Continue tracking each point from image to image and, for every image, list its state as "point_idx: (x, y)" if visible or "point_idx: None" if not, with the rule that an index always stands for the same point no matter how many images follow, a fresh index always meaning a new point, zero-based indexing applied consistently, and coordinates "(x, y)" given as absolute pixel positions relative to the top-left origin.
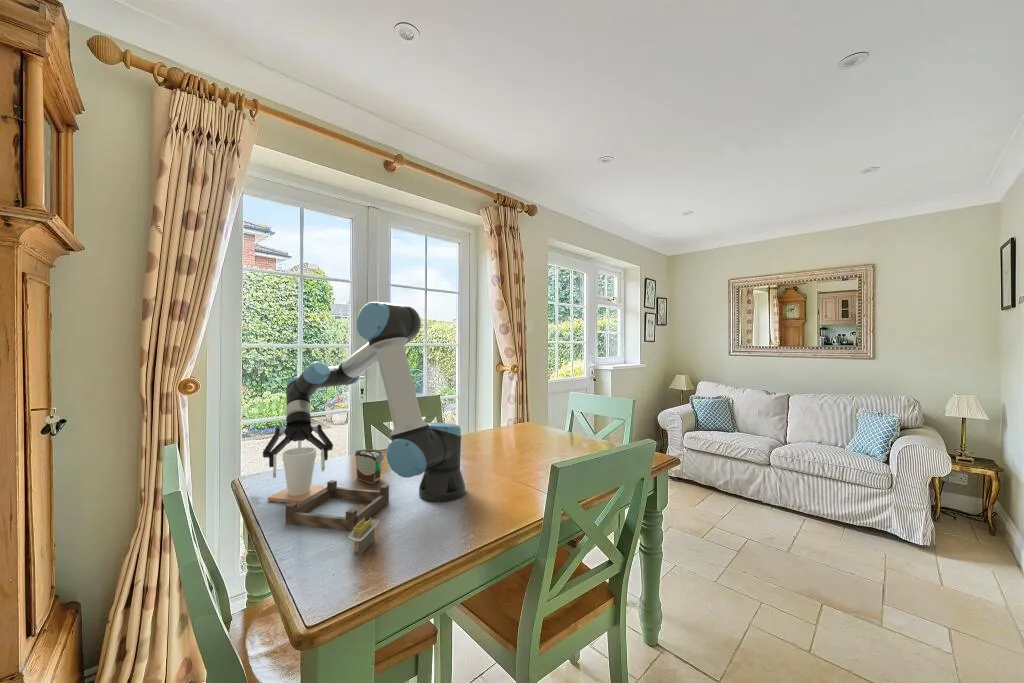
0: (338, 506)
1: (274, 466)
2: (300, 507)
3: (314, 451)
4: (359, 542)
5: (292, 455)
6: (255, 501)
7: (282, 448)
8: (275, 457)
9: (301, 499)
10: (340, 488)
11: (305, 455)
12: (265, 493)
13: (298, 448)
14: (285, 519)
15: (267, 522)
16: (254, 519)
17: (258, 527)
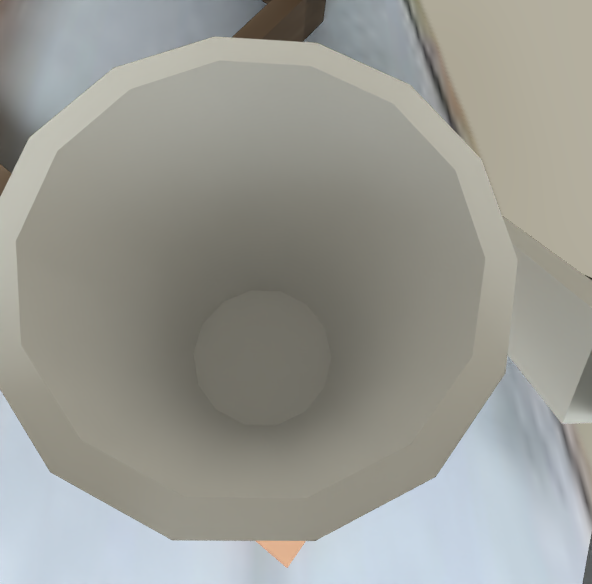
0: (74, 98)
1: (517, 235)
2: (261, 13)
3: (30, 144)
4: None
5: (358, 68)
6: (508, 371)
7: (588, 570)
8: (580, 291)
9: None
10: (2, 175)
11: (184, 60)
12: (477, 506)
13: (275, 498)
14: (325, 2)
15: (398, 68)
16: (459, 122)
17: (426, 38)
